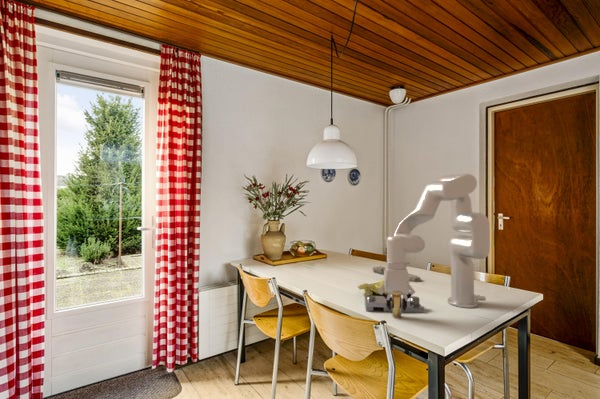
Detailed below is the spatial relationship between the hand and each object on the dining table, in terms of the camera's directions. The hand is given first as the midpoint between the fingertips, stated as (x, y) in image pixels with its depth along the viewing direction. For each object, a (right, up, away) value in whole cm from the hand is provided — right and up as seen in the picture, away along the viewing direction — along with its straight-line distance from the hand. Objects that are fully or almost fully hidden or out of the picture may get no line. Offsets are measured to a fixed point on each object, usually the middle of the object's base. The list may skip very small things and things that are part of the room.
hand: (396, 308), depth 135 cm
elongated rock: (+19, -3, +67) cm, 70 cm away
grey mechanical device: (+1, -3, +10) cm, 11 cm away
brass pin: (0, -3, 0) cm, 3 cm away
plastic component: (-1, -3, +33) cm, 33 cm away
